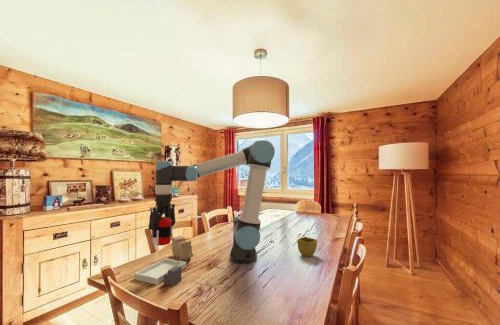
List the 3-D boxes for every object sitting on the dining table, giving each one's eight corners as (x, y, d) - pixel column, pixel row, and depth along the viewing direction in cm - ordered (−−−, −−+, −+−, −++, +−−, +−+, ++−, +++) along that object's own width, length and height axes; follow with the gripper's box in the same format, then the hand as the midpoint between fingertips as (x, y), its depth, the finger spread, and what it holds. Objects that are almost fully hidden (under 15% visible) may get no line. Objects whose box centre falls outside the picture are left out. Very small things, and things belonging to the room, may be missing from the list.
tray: (186, 267, 113) (186, 262, 113) (156, 284, 95) (156, 278, 95) (165, 262, 118) (165, 258, 118) (134, 278, 100) (134, 273, 101)
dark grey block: (181, 280, 99) (181, 266, 100) (173, 286, 95) (173, 271, 95) (172, 278, 101) (172, 265, 101) (163, 283, 97) (164, 269, 97)
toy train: (182, 263, 117) (183, 244, 118) (171, 254, 131) (171, 236, 131) (192, 261, 121) (193, 242, 121) (180, 252, 134) (180, 235, 135)
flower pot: (318, 255, 131) (317, 239, 131) (310, 259, 124) (310, 243, 125) (304, 251, 137) (304, 236, 137) (296, 255, 130) (296, 239, 131)
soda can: (153, 241, 109) (154, 216, 110) (170, 240, 112) (170, 215, 113) (153, 246, 102) (154, 219, 103) (171, 244, 105) (171, 218, 106)
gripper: (172, 191, 119) (171, 235, 118) (140, 195, 100) (138, 247, 99) (183, 192, 116) (182, 237, 115) (152, 195, 97) (151, 249, 96)
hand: (162, 241), depth 107 cm, fingers closed on soda can, 8 cm apart
